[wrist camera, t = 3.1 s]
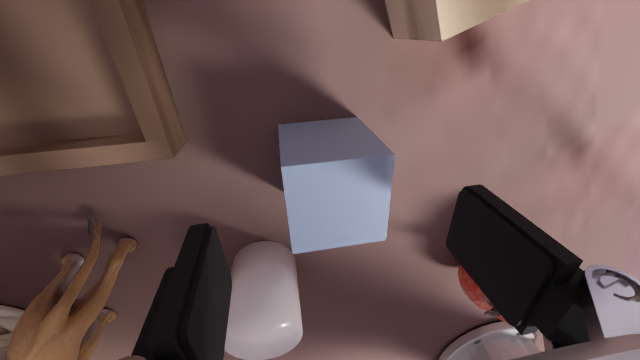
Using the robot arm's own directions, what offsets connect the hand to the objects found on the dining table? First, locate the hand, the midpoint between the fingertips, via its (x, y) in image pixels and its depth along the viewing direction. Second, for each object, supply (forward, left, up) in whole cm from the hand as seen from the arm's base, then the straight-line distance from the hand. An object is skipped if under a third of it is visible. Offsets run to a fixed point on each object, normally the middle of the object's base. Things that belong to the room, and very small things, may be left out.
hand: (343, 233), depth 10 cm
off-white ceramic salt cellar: (+5, +10, -8) cm, 14 cm away
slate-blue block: (0, +1, -9) cm, 8 cm away
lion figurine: (+17, +10, -9) cm, 21 cm away
